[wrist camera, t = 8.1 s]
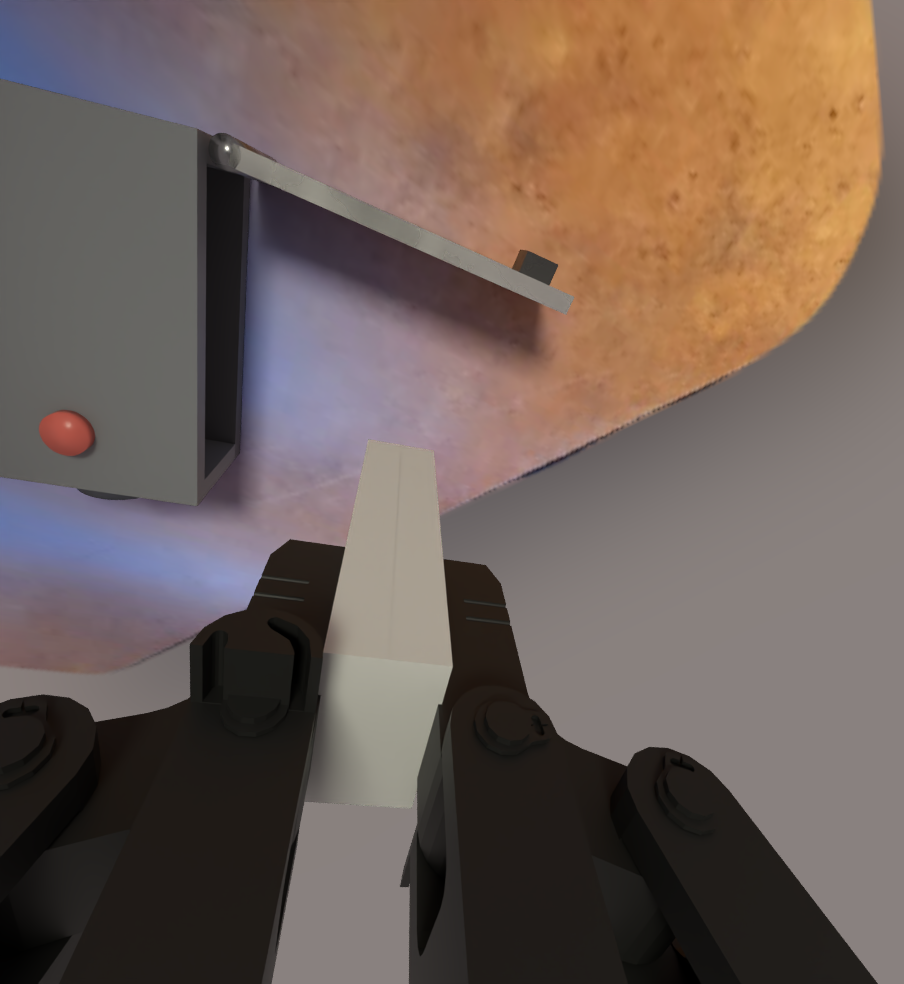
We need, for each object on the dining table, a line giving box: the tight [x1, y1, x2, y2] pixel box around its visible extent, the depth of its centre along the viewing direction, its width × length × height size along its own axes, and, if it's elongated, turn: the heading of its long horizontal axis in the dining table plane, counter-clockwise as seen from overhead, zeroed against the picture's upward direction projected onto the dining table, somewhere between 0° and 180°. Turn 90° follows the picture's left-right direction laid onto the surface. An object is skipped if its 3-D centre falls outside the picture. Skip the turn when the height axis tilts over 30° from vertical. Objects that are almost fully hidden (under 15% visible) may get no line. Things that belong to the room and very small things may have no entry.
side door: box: [209, 133, 574, 314], centre depth 24 cm, size 16×2×6 cm, turn 68°
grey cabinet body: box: [0, 79, 250, 506], centre depth 25 cm, size 17×9×8 cm, turn 168°
